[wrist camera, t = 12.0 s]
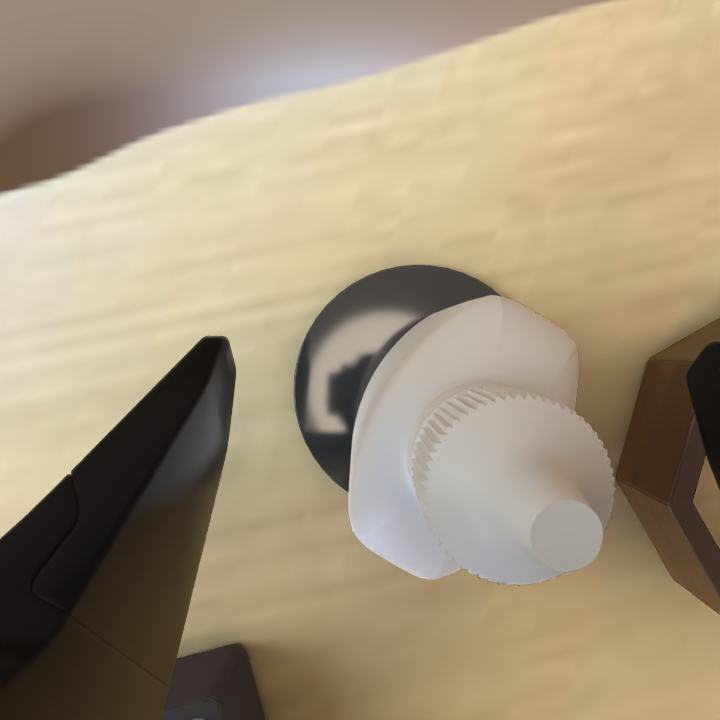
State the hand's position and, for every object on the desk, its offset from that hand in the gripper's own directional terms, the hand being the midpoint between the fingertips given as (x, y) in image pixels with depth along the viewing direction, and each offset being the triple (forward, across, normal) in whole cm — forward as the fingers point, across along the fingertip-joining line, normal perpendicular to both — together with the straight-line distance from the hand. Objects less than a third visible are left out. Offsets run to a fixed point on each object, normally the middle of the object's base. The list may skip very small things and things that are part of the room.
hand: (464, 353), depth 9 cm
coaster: (+4, 0, +6) cm, 8 cm away
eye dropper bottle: (+4, 0, +6) cm, 8 cm away
